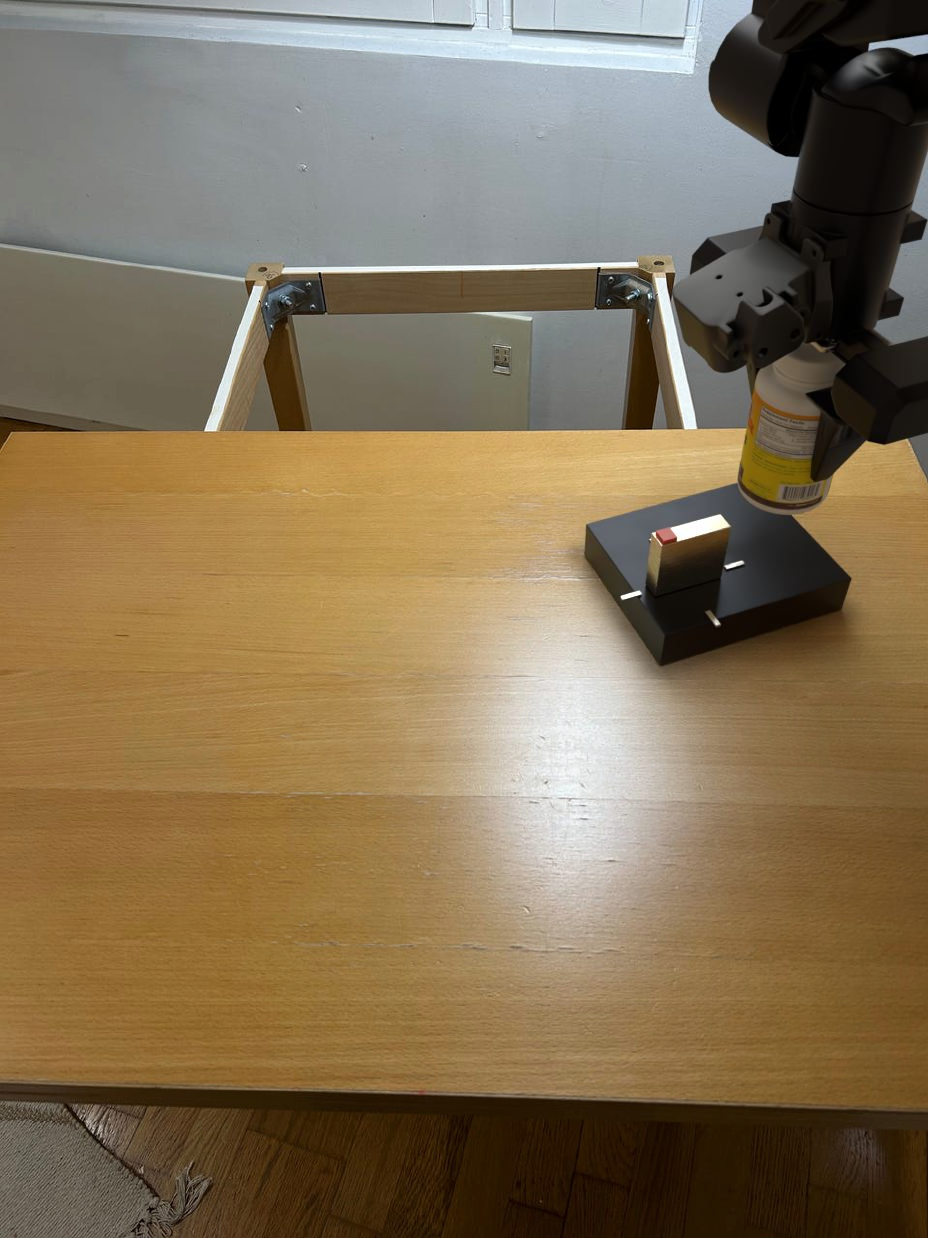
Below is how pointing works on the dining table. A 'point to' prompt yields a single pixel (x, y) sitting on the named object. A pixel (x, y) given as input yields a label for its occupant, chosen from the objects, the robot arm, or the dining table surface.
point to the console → (728, 606)
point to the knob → (687, 555)
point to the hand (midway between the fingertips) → (790, 451)
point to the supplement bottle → (785, 433)
